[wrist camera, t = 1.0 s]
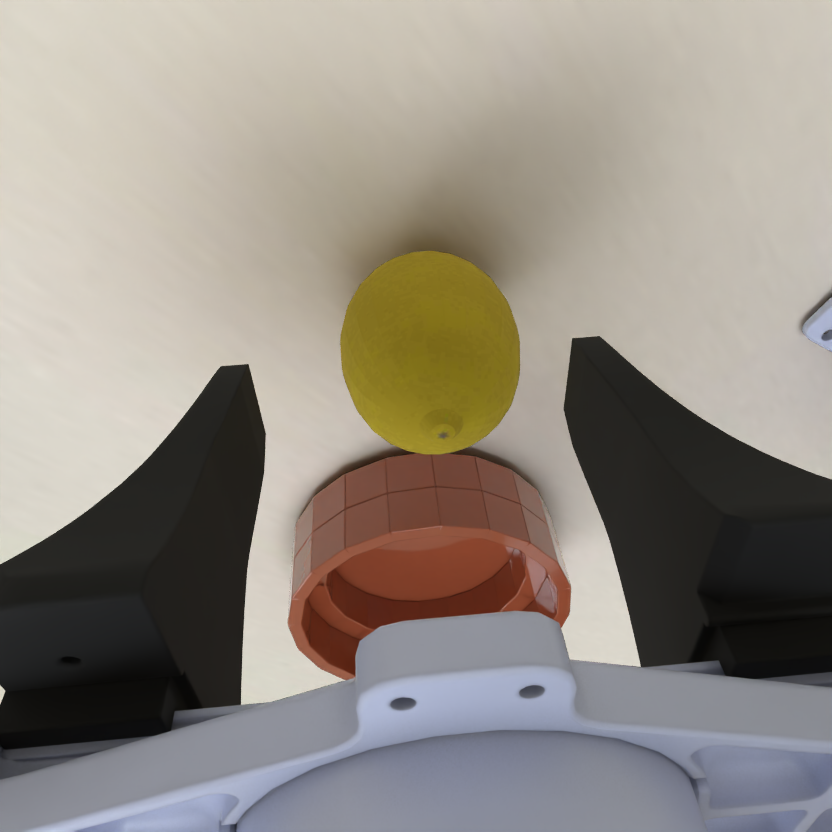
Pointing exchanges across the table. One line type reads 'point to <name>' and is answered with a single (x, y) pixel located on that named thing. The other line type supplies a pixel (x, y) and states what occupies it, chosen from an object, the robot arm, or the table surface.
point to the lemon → (430, 352)
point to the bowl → (419, 552)
